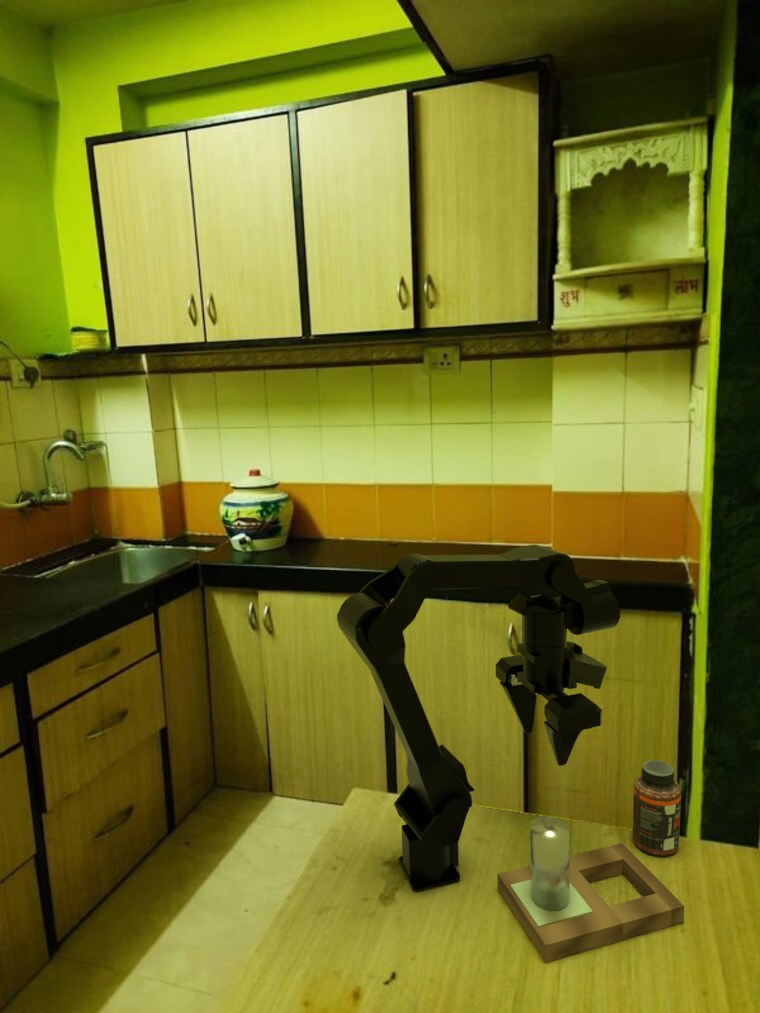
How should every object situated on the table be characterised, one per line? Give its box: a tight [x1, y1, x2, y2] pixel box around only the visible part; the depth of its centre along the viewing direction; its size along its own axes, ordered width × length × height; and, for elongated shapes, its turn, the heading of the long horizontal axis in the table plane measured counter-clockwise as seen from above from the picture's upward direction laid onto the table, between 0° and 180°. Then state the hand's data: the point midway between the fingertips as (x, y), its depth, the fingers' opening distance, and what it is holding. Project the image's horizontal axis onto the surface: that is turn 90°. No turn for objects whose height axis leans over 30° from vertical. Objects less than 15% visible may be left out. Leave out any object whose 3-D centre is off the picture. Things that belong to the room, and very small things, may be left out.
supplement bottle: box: [632, 759, 682, 857], centre depth 96 cm, size 6×6×11 cm
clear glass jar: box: [529, 815, 570, 911], centre depth 83 cm, size 4×4×9 cm
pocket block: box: [497, 842, 685, 963], centre depth 86 cm, size 18×12×2 cm, turn 106°
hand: (544, 747), depth 97 cm, fingers open, 9 cm apart
